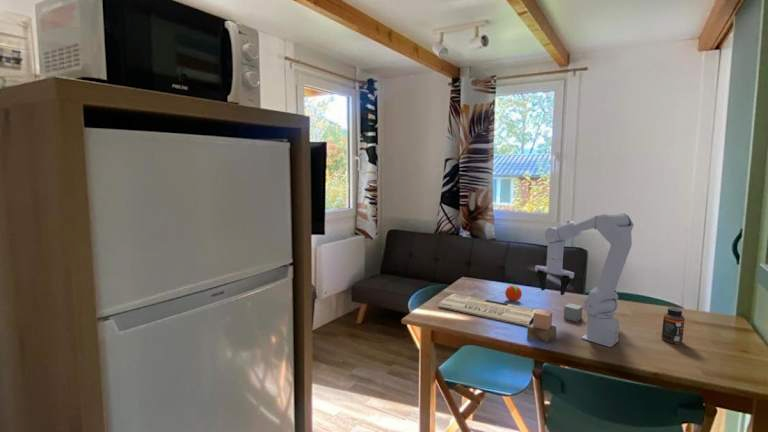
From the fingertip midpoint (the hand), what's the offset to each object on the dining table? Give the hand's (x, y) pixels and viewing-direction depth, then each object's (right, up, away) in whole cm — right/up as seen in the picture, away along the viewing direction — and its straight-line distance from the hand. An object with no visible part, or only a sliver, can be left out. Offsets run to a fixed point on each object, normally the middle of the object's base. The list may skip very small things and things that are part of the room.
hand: (552, 292), depth 163 cm
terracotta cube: (-11, -9, -18) cm, 22 cm away
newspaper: (-23, -10, +8) cm, 27 cm away
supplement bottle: (+34, -14, -19) cm, 41 cm away
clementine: (-9, -8, +20) cm, 24 cm away
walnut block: (-11, -13, -18) cm, 24 cm away
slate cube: (+8, -11, +1) cm, 14 cm away
